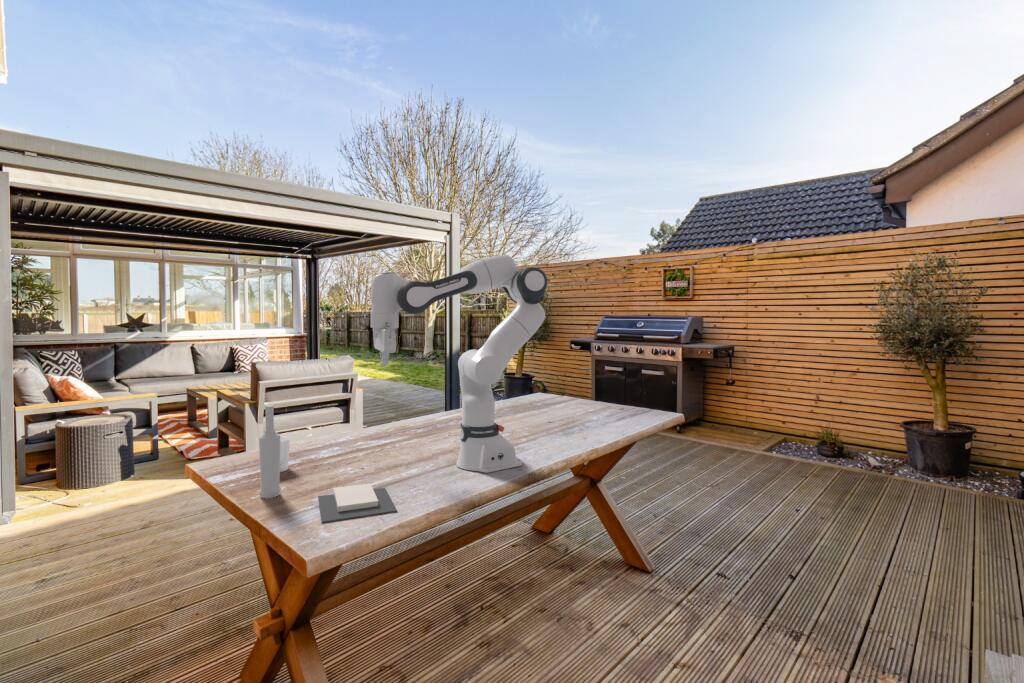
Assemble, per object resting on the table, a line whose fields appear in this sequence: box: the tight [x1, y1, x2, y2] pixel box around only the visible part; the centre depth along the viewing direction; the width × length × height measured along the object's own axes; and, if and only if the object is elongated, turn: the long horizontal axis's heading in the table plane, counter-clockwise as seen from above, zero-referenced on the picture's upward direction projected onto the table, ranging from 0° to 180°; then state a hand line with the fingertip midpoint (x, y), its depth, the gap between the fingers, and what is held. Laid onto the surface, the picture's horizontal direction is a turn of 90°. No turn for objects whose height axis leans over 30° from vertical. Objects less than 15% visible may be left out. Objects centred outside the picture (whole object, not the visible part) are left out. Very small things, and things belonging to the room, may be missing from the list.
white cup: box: [280, 435, 291, 473], centre depth 153 cm, size 8×8×10 cm
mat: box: [317, 487, 398, 524], centre depth 127 cm, size 18×18×1 cm
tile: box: [332, 482, 378, 512], centre depth 129 cm, size 10×2×14 cm
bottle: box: [258, 404, 281, 500], centre depth 131 cm, size 5×5×25 cm
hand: (384, 364), depth 156 cm, fingers closed
